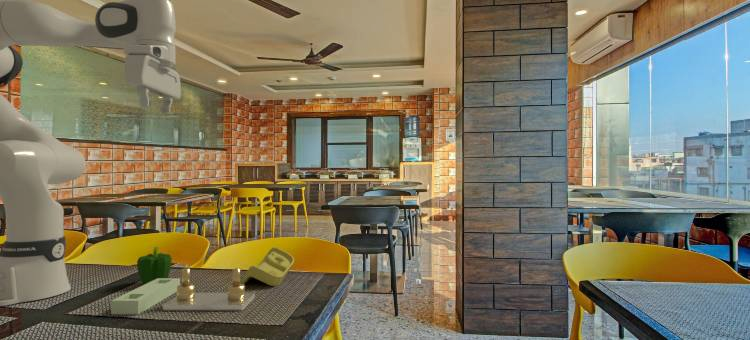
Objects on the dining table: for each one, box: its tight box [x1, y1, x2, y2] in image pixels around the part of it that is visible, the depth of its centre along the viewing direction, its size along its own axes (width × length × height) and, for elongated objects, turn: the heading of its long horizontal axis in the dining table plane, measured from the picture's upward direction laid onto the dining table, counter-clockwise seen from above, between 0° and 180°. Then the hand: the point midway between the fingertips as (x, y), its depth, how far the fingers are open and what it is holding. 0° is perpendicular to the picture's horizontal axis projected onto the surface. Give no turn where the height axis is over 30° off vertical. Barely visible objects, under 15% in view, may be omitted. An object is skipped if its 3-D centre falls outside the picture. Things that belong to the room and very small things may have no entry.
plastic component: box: [240, 246, 295, 287], centre depth 115 cm, size 20×7×10 cm
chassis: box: [162, 267, 256, 311], centre depth 92 cm, size 18×9×8 cm, turn 90°
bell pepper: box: [136, 246, 173, 285], centre depth 109 cm, size 8×8×10 cm
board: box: [110, 277, 181, 315], centre depth 94 cm, size 18×6×3 cm, turn 0°
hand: (155, 110), depth 99 cm, fingers open, 8 cm apart
